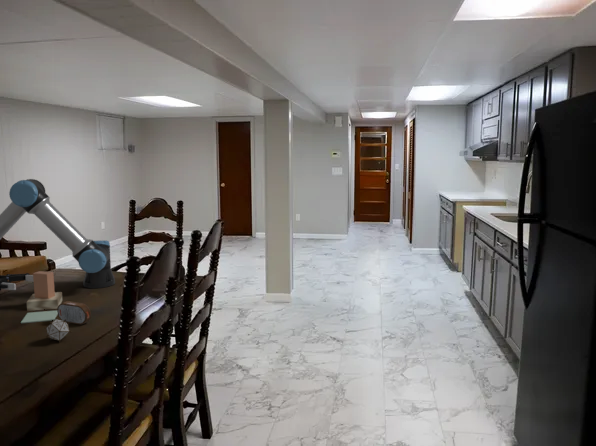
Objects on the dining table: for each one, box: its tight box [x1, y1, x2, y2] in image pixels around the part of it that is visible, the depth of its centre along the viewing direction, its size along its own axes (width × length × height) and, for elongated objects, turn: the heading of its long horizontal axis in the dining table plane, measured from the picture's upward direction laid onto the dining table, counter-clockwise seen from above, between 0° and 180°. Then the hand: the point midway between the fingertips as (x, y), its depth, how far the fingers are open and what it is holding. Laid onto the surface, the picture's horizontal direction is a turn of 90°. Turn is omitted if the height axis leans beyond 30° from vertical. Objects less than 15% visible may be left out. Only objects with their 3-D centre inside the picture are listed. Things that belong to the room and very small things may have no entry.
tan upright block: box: [32, 270, 56, 299], centre depth 210 cm, size 7×4×11 cm, turn 78°
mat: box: [20, 309, 58, 324], centre depth 197 cm, size 12×12×1 cm
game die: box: [43, 316, 73, 344], centre depth 172 cm, size 9×8×10 cm
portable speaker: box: [56, 300, 92, 326], centre depth 190 cm, size 15×3×8 cm, turn 71°
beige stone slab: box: [26, 291, 63, 312], centre depth 211 cm, size 12×12×4 cm
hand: (27, 282), depth 211 cm, fingers open, 13 cm apart
